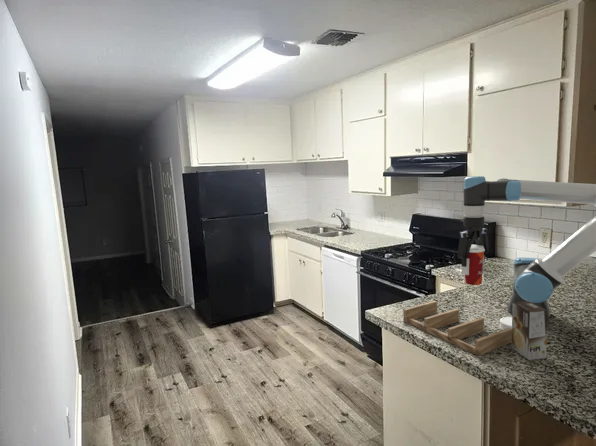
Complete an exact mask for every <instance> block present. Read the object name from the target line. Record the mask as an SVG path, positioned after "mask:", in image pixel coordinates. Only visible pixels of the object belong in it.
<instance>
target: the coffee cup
mask: <svg viewBox="0 0 596 446" xmlns="http://www.w3.org/2000/svg"><path fill="white" fill-rule="evenodd" d="M484 251H485V249H484V247H483V246H481V245H476V244H472V245H471V248H470V251H469V255H468V259H469V275H465V274H464V279H465V284H466V285H469V286H480V285H482V284H483V283H482V282H483V272H484V271H483V259H484Z"/></svg>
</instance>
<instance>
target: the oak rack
mask: <svg viewBox="0 0 596 446" xmlns="http://www.w3.org/2000/svg"><path fill="white" fill-rule="evenodd" d="M402 310H403V313H402V314H403V315H402V316H403V317H402V318H403V322H405V323H407V324H409V325H411V326H413V325H414V326H413V327H415V326H416V328H417V327H418V329H419V328H420V330H422V331H424V332H425V333H429V334H431V335H433V336H435V337H436V338H439V339H442V340H443V341H446V342H448V343H450V344H452V345H454V346H456V347H459V348H461V349H463V350H464V351H468V352H470V353H471V354H474V355H476V356H477V357H479V356H481V355H484V354H486V353H490V352H491V351H494V350H497V349H499V348H502V347H504V346H506V345H509V344H512V328H507V329H504V330H501V329H500V330H498V331H496V332H494V333H491V334H489V335H488V334H487V335H485V336H483V337H479V338H477V339H475V341H474V342H475V343H474V344H475V345H473V344H470V343H468V342H466V341H463V339H466V338H468V337H471V336H474V335H477V334H479V333H482V332H484V330H485V329H484V328H485V327H484V326H485V325H484V323H485V322H484V321H485V318H484V317H478V318H474V319H472V320H469V321H466V322H463V323H460V324H457V325H454V326H451V327H448V328H447V333H446V332H444V331H441V330H439V328H442V327H445V326H449V325H452V324H454V323H457V322H459V320H460V312H459V311H460V309H459V308H453V309H450V310H447V311H443V312H440V313H438V311H437V310H438V301H437V300H432V301H428V302H425V303H421V304H417V305H414V306H411V307H406V308H404V309H402ZM426 316H428V317H426ZM420 318H423V322H420V321H419V320H418V319H420Z"/></svg>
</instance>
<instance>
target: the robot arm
mask: <svg viewBox="0 0 596 446" xmlns="http://www.w3.org/2000/svg"><path fill="white" fill-rule="evenodd" d="M463 182H464V183H463V220H462V221H463V226H464V227H465V229H464V230H463V231H459V233H458V235H459V241H458V249H457V254H456V255H457V258H460V259H461V274H462V275H464V276H465V275H469V259H468V255H469V251H470V248H471V245H473V244H474V243H475V245H481V246H483V247H484V249H485V251H484V259H483V272H485V261H486V256H487V255H488V253H489V252H490V250H489V247H490V246H489V239H488V231H489V229H488V228H484V226H485V215H486V214H485V213H486V211H485V209H486V205H485V204H486V201H487V202H490V201H491V202H495V201H496V202H513V201H515V202H516V201H520V200H529V201H542V202H543V201H544V202H557V203H567V204H578V205H579V204H581V205H592V206H593V207H595V208H596V183H582V182H579V183H576V182H564V181H563V182H561V181H543V180H526V179H524V180H523V179H508V178H499V179H497V180H496V181H495V180H493V181H492V180H491V181H488V180H487V179H486V177H485V176H483V175H482V176H480V175H478V176H466V177H465V178H464V180H463ZM595 252H596V215H595V216H593V217H592V218H591V219H590V220H588V221H587V222H586V223H585V224H584V225H582V226H581V227H580V228H579V229H578V230H576V231H575V232H574V233H573V234H572V235H570V236H569V237H567V238H566V239H565V240H564V241H563V242H562V243H561V244H559V245H558V246H557V247H556V248H554V249H553V250H552V251H551V252H550V253H548V254H547V255H546V256H545V257H543V258H538V257H516V258H514V260H513V264H512V265H513V280H512V283H513V284H512V285H513V286H512V294H511V297H510V298H509V301H508V304H507V312H508V313H510V314H511V315H512V306H513V303H515V302H524V301H530V302H532V303H534V304H536V305H538V306H540V307H542V308H544V309H546V310H548V317H547V319H549V318H550V317H551V308H550V305H549V301H548V300H549V299H550V297H552V295H553V293H554V290H555V289H556V288H558V287H559V286H561V285H562V284H563V283H564V276H566V275H567V274H568V273H570V272H571V271H573V270H574V269H575V268H576V267H577V266H578V265H580V264H581V263H582V262H583V261H584V260H586V259H587V258H589V257H590V256H591V255H592V254H594V253H595Z"/></svg>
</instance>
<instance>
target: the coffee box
mask: <svg viewBox="0 0 596 446" xmlns="http://www.w3.org/2000/svg"><path fill="white" fill-rule="evenodd" d="M511 317H512V343H511V348H512V349H513V350H514V351H516V352H517V353H519V355H521V356H522V357H524V358H525V359H526V360H528V361H531V360H532V361H533V360H541V359H547V340H548V318H547V317H548V310H546V309H544V308H542V307H540V306H538V305H536V304H534V303H532V302H530V301H524V302H515V303H513V306H512V314H511Z"/></svg>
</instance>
